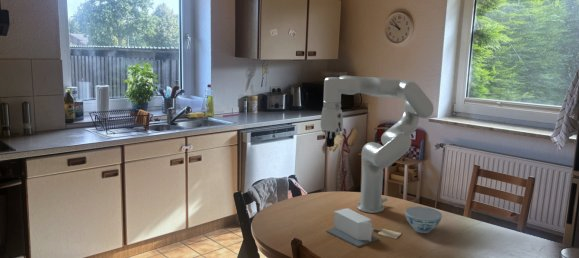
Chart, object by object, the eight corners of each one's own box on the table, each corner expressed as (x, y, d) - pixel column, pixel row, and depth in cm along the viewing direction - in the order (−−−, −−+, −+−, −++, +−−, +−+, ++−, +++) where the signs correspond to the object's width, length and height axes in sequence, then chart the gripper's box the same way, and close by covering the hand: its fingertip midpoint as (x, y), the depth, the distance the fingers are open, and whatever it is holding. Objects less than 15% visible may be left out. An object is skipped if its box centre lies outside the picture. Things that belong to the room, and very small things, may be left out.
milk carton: (333, 226, 207) (364, 243, 192) (334, 210, 206) (365, 226, 190) (346, 223, 211) (377, 239, 196) (347, 207, 210) (378, 222, 194)
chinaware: (443, 227, 211) (445, 210, 209) (436, 240, 198) (437, 222, 196) (409, 220, 218) (410, 204, 216) (399, 232, 205) (400, 214, 203)
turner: (362, 224, 211) (363, 222, 211) (401, 234, 203) (401, 232, 203) (357, 229, 206) (357, 227, 206) (396, 239, 198) (396, 237, 198)
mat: (347, 225, 211) (347, 224, 211) (378, 239, 197) (379, 238, 197) (326, 231, 203) (326, 230, 203) (358, 247, 190) (358, 245, 189)
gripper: (350, 107, 212) (348, 148, 215) (326, 102, 223) (325, 142, 227) (337, 108, 207) (335, 151, 211) (314, 104, 219) (312, 144, 222)
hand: (330, 146), depth 219 cm, fingers closed
